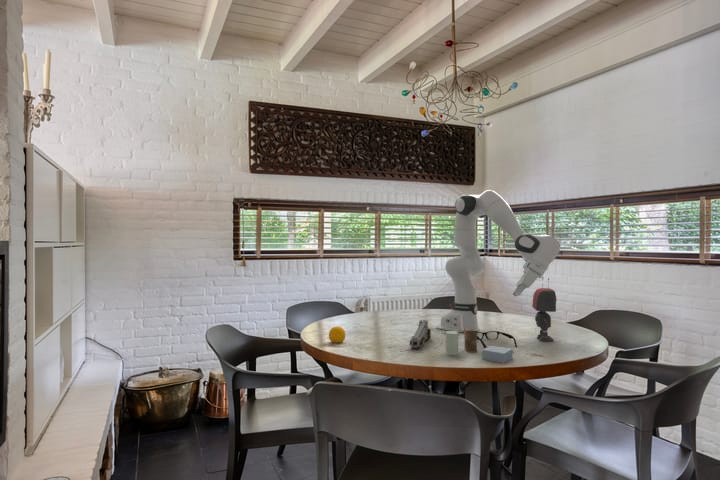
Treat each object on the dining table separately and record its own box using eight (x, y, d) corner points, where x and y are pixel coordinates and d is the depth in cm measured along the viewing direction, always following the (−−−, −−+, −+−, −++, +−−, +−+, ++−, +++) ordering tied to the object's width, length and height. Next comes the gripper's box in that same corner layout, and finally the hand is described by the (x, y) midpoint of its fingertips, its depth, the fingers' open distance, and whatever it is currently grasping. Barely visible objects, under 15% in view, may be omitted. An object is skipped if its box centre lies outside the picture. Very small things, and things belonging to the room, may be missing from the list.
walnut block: (466, 351, 194) (466, 330, 194) (464, 349, 198) (464, 328, 198) (476, 351, 193) (476, 330, 193) (474, 349, 198) (474, 328, 198)
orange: (334, 339, 216) (334, 324, 216) (348, 341, 213) (348, 325, 213) (325, 343, 209) (325, 327, 209) (340, 345, 206) (340, 328, 206)
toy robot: (559, 345, 204) (559, 279, 204) (538, 344, 206) (538, 278, 206) (549, 335, 226) (549, 275, 225) (530, 334, 227) (530, 274, 227)
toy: (431, 338, 218) (430, 318, 216) (421, 359, 196) (420, 338, 194) (419, 337, 220) (419, 317, 218) (409, 358, 198) (408, 337, 196)
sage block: (447, 355, 188) (447, 333, 188) (445, 352, 193) (445, 331, 193) (458, 355, 188) (458, 333, 188) (456, 352, 192) (456, 331, 192)
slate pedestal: (482, 359, 182) (482, 349, 182) (491, 355, 189) (491, 345, 189) (504, 363, 176) (504, 353, 176) (512, 358, 183) (512, 349, 183)
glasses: (500, 341, 218) (500, 330, 219) (519, 348, 201) (519, 337, 201) (468, 342, 216) (467, 331, 216) (484, 349, 198) (484, 338, 198)
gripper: (524, 267, 208) (506, 292, 208) (530, 263, 188) (511, 290, 188) (536, 275, 206) (518, 300, 206) (544, 271, 186) (525, 299, 186)
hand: (515, 295), depth 197 cm, fingers open, 8 cm apart
